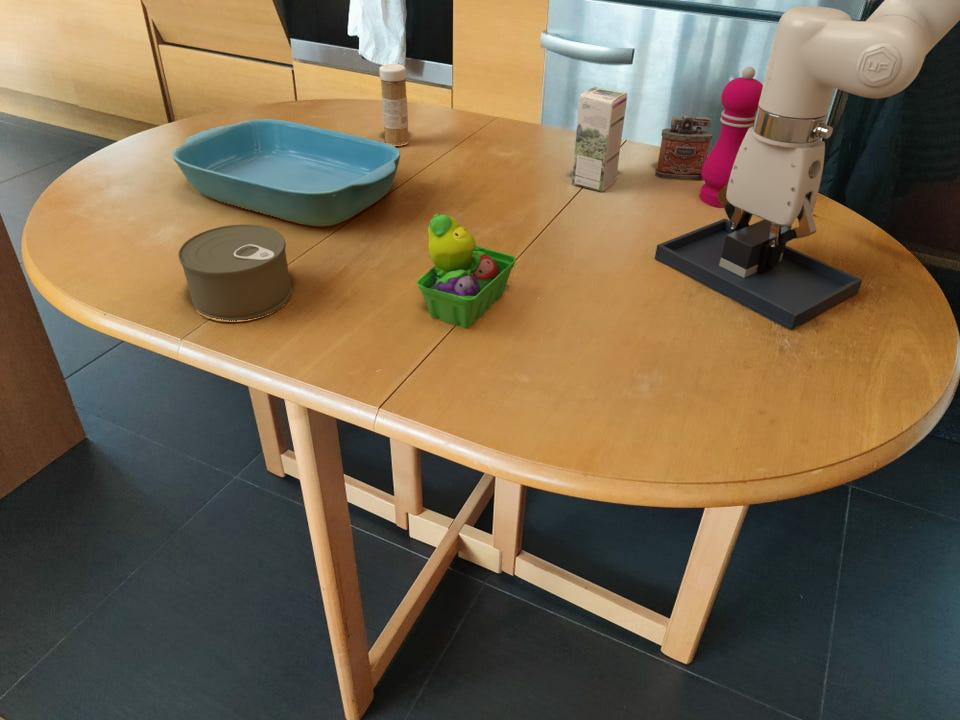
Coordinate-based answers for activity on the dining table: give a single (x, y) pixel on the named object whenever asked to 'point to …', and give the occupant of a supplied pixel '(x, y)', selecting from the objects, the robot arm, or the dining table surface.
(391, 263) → the dining table surface
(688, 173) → the lighter
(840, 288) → the tray
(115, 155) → the dining table surface
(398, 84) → the sprinkles bottle
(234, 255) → the can
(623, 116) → the syrup box
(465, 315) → the fruit basket
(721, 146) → the pepper mill
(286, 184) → the casserole dish
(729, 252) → the eraser
